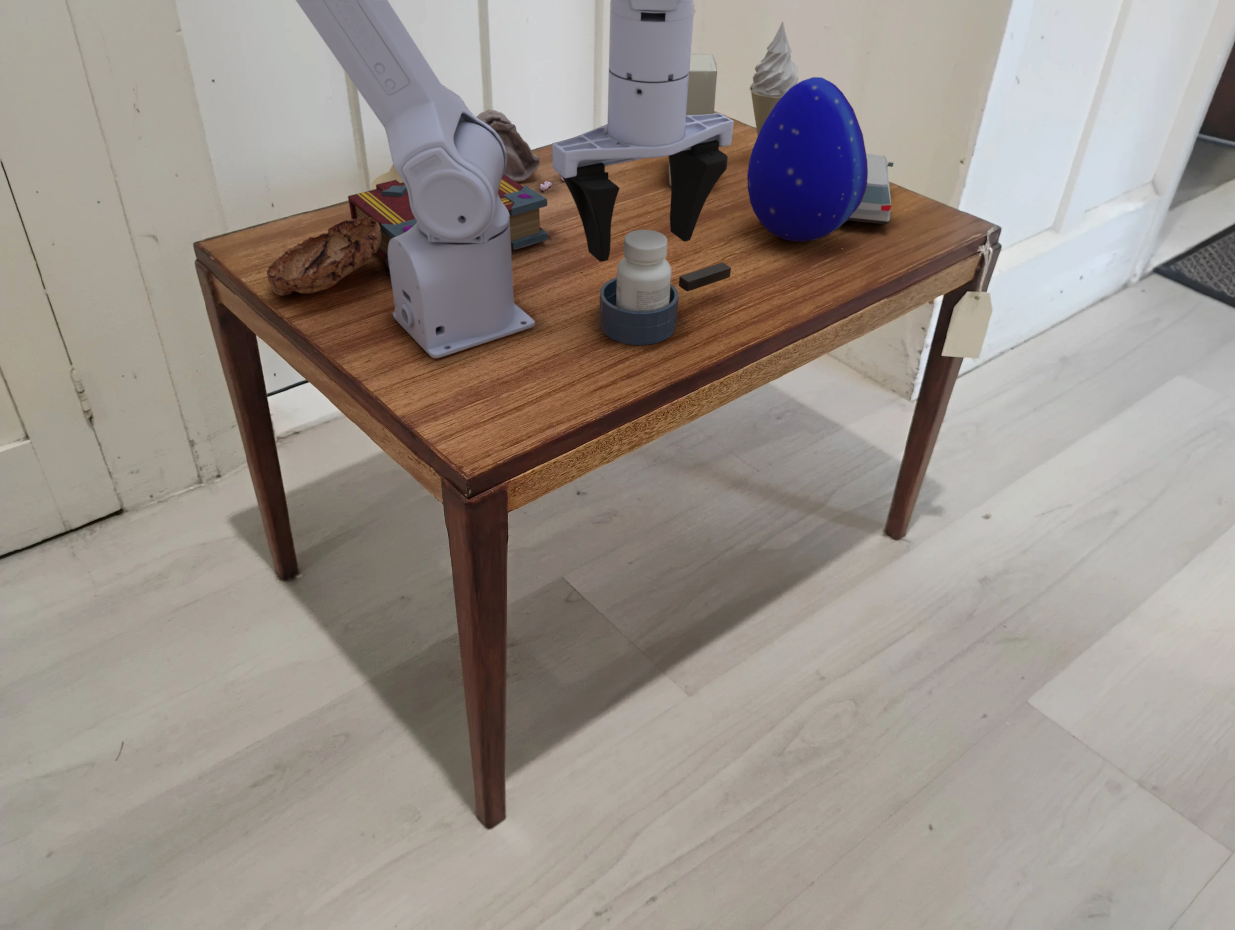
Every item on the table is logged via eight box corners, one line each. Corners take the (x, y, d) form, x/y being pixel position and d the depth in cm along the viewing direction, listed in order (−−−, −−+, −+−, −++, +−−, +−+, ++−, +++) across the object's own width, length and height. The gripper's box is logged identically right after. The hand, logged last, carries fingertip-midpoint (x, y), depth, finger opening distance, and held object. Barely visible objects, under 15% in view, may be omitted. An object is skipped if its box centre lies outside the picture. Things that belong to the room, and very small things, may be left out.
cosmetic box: (709, 189, 103) (719, 71, 95) (667, 187, 103) (674, 70, 95) (705, 165, 108) (715, 52, 100) (666, 164, 108) (672, 51, 100)
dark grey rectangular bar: (686, 292, 82) (687, 281, 81) (678, 286, 82) (679, 275, 82) (730, 277, 84) (731, 267, 83) (721, 272, 85) (722, 261, 84)
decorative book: (351, 238, 92) (343, 188, 89) (497, 198, 99) (494, 151, 96) (406, 287, 85) (399, 234, 82) (558, 240, 92) (557, 190, 89)
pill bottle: (678, 321, 81) (684, 236, 76) (647, 343, 78) (652, 257, 73) (636, 304, 83) (639, 221, 78) (605, 325, 80) (606, 240, 75)
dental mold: (455, 127, 98) (445, 120, 102) (472, 194, 101) (461, 184, 105) (529, 108, 100) (516, 102, 104) (543, 174, 103) (530, 165, 107)
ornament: (867, 240, 94) (900, 83, 84) (810, 270, 89) (838, 107, 79) (779, 203, 100) (800, 53, 90) (721, 229, 95) (736, 73, 85)
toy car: (884, 179, 105) (894, 135, 102) (889, 236, 96) (901, 189, 92) (830, 174, 106) (839, 130, 102) (831, 230, 96) (840, 183, 93)
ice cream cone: (784, 172, 107) (804, 29, 97) (739, 168, 107) (754, 25, 98) (787, 155, 111) (807, 16, 101) (743, 151, 111) (759, 12, 102)
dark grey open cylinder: (628, 353, 78) (629, 321, 76) (584, 318, 82) (584, 286, 80) (691, 330, 81) (694, 299, 79) (646, 297, 85) (647, 267, 83)
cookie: (373, 205, 87) (389, 234, 89) (266, 254, 87) (284, 283, 88) (376, 233, 79) (394, 265, 80) (258, 288, 78) (278, 319, 80)
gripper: (702, 41, 74) (689, 208, 82) (531, 66, 68) (536, 243, 76) (757, 68, 69) (736, 242, 78) (578, 98, 63) (577, 282, 72)
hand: (640, 245), depth 77 cm, fingers open, 7 cm apart
